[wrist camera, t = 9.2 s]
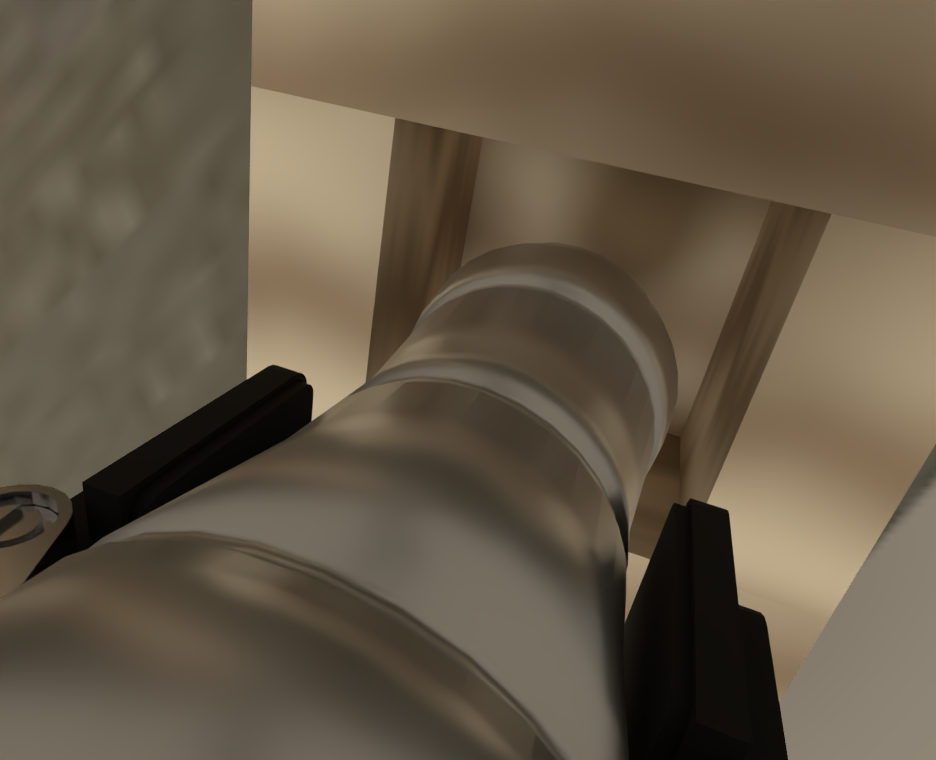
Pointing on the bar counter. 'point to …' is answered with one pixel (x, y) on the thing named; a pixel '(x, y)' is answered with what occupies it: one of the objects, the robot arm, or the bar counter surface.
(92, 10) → the bar counter surface
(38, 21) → the bar counter surface
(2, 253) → the bar counter surface
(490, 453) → the plastic bottle
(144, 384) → the bar counter surface
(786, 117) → the well block
